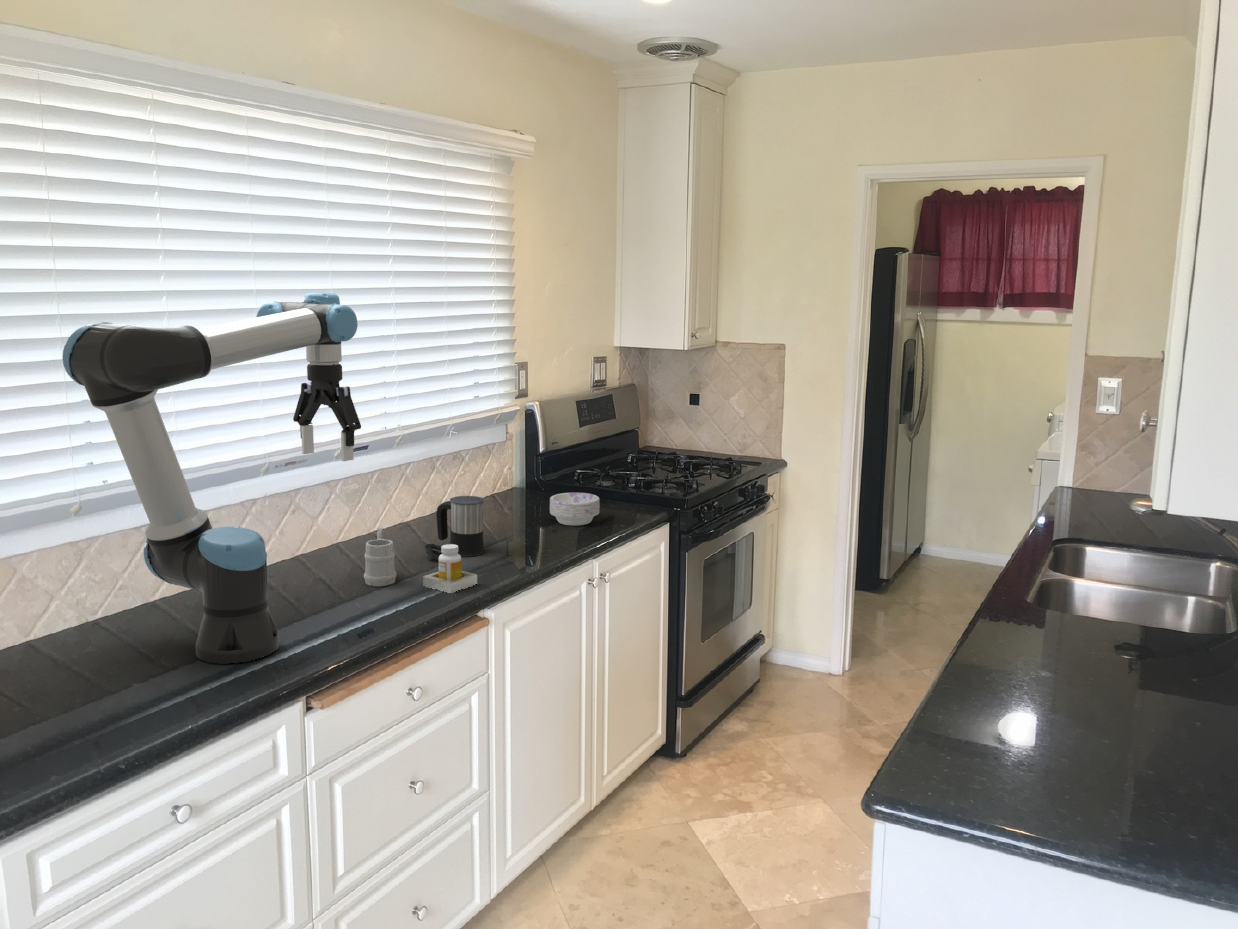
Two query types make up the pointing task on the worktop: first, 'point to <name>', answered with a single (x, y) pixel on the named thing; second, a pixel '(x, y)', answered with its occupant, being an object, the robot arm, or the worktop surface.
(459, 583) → the square picture frame
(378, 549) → the mug
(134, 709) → the worktop surface
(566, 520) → the paper bowls
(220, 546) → the robot arm
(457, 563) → the supplement bottle
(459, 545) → the milk frother
